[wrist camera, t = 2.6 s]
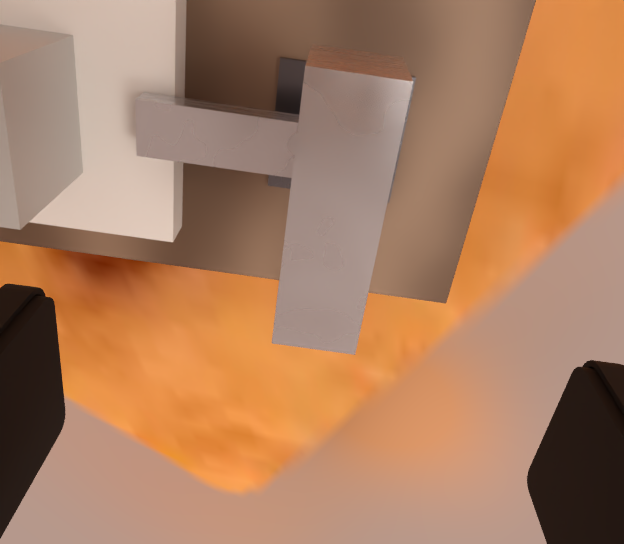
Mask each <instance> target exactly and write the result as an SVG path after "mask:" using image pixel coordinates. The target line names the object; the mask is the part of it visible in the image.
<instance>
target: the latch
mask: <svg viewBox="0 0 624 544" xmlns="http://www.w3.org/2000/svg"><path fill="white" fill-rule="evenodd" d="M412 85H413V80H412V77H411V75H410V73H409V71H408V68H407V66H406V64H405V61H404V59H403V57H398V56H391V55H384V54H378V53H371V52H364V51H357V50H351V49H344V48H337V47H330V46H324V45H317V44H312V46H311V49H310V52H309V55H308V58H307V62H306V65H305V72H304V80H303V88H302V97H301V105H300V113H299V114H292V113H285V112H278V111H271V110H264V109H257V108H250V107H244V106H237V105H230V104H223V103H216V102H209V101H202V100H195V99H189V98H182V97H175V96H168V95H161V94H154V93H147V92H144V93H142V94H141V95H140V96H139V97H137V98H136V99H135V109H136V154H137V156H141V157H148V158H155V159H162V160H169V161H176V162H183V163H190V164H197V165H204V166H211V167H218V168H225V169H232V170H239V171H246V172H253V173H260V174H267V175H274V176H281V177H288V178H292V180H291V188H290V196H289V205H288V213H287V221H286V230H285V238H284V246H283V255H282V263H281V271H280V279H279V288H278V296H277V304H276V313H275V321H274V329H273V338H272V343H274V344H281V345H288V346H295V347H303V348H310V349H317V350H325V351H332V352H339V353H347V354H354V355H355V352H356V348H357V343H358V338H359V334H360V329H361V324H362V319H363V315H364V310H365V305H366V301H367V296H368V291H369V287H370V282H371V277H372V273H373V268H374V263H375V259H376V254H377V249H378V245H379V240H380V235H381V230H382V226H383V221H384V216H385V212H386V207H387V202H388V198H389V193H390V188H391V184H392V179H393V174H394V170H395V165H396V160H397V156H398V151H399V146H400V141H401V137H402V132H403V127H404V123H405V118H406V113H407V109H408V104H409V99H410V95H411V90H412Z"/></svg>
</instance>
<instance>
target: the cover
mask: <svg viewBox="0 0 624 544" xmlns="http://www.w3.org/2000/svg"><path fill="white" fill-rule="evenodd" d="M186 2H187V0H0V227H4V228H11V229H18V230H21V229H22V228H23V227H24V226H25V225H26V224H27V223H28V222H31V223H38V224H45V225H52V226H59V227H67V228H74V229H81V230H88V231H95V232H102V233H109V234H117V235H124V236H131V237H138V238H145V239H152V240H159V241H166V242H174V240H175V238H176V236H177V234H178V233H179V231H180V229H181V227H182V201H183V162H176V161H169V160H162V159H155V158H148V157H141V156H137V154H136V109H135V99H136V98H137V97H139V96H140V95H141V94H142V93H144V92H147V93H154V94H161V95H168V96H175V97H182V98H185V51H186Z"/></svg>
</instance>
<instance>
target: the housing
mask: <svg viewBox="0 0 624 544" xmlns="http://www.w3.org/2000/svg"><path fill="white" fill-rule="evenodd" d="M535 2H536V0H187V2H186V51H185V98H189V99H195V100H202V101H209V102H216V103H223V104H230V105H237V106H244V107H250V108H257V109H264V110H271V111H278V112H285V113H292V114H299V113H300V105H301V97H302V88H303V80H304V72H305V65H306V62H307V58H308V55H309V52H310V49H311V46H312V44H317V45H324V46H330V47H337V48H344V49H351V50H357V51H364V52H371V53H378V54H384V55H391V56H398V57H403V59H404V61H405V64H406V66H407V68H408V71H409V73H410V75H411V77H412V80H413V85H412V90H411V95H410V99H409V104H408V109H407V113H406V118H405V123H404V127H403V132H402V137H401V141H400V146H399V151H398V156H397V160H396V165H395V170H394V174H393V179H392V184H391V188H390V193H389V198H388V202H387V207H386V212H385V216H384V221H383V226H382V230H381V235H380V240H379V245H378V249H377V254H376V259H375V263H374V268H373V273H372V277H371V282H370V287H369V291H368V293H376V294H383V295H390V296H397V297H404V298H412V299H419V300H426V301H433V302H440V303H446V302H447V298H448V295H449V292H450V288H451V285H452V281H453V278H454V275H455V271H456V268H457V265H458V261H459V258H460V254H461V251H462V248H463V244H464V241H465V238H466V234H467V231H468V228H469V224H470V221H471V217H472V214H473V211H474V207H475V204H476V201H477V197H478V194H479V190H480V187H481V184H482V180H483V177H484V174H485V170H486V167H487V164H488V160H489V157H490V153H491V150H492V147H493V143H494V140H495V137H496V133H497V130H498V126H499V123H500V120H501V116H502V113H503V110H504V106H505V103H506V100H507V96H508V93H509V89H510V86H511V83H512V79H513V76H514V73H515V69H516V66H517V62H518V59H519V56H520V52H521V49H522V46H523V42H524V39H525V35H526V32H527V29H528V25H529V22H530V19H531V15H532V12H533V9H534V5H535ZM291 180H292V178H288V177H281V176H274V175H267V174H260V173H253V172H246V171H239V170H232V169H225V168H218V167H211V166H204V165H197V164H190V163H183V201H182V227H181V229H180V231H179V233H178V234H177V236H176V238H175V240H174V242H166V241H159V240H152V239H145V238H138V237H131V236H124V235H117V234H109V233H102V232H95V231H88V230H81V229H74V228H67V227H59V226H52V225H45V224H38V223H31V222H28V223H27V224H26V225H25V226H24V227H23V228H22V229H21V230H18V229H11V228H4V227H0V241H3V242H10V243H17V244H24V245H32V246H39V247H46V248H53V249H60V250H67V251H75V252H82V253H89V254H96V255H103V256H110V257H118V258H125V259H132V260H139V261H146V262H153V263H161V264H168V265H175V266H182V267H189V268H196V269H204V270H211V271H218V272H225V273H232V274H239V275H247V276H254V277H261V278H268V279H275V280H279V279H280V271H281V263H282V255H283V246H284V238H285V230H286V221H287V213H288V205H289V196H290V188H291Z"/></svg>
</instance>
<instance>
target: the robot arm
mask: <svg viewBox="0 0 624 544" xmlns="http://www.w3.org/2000/svg"><path fill="white" fill-rule="evenodd" d="M64 420H65V403H64V393H63V383H62V373H61V363H60V353H59V344H58V334H57V324H56V314H55V305H54V301H53V299H52V298H50V297H45V293H44V291H43V290H42V289H41V288H38V287H30V286H22V285H15V284H5V285H4V286H2V287H1V288H0V538H1V536H2V535H3V533H4V531H5V529H6V528H7V526H8V524H9V522H10V520H11V519H12V517H13V515H14V513H15V512H16V510H17V508H18V506H19V505H20V503H21V501H22V499H23V497H24V496H25V494H26V492H27V490H28V489H29V487H30V485H31V484H32V482H33V480H34V478H35V476H36V475H37V473H38V471H39V469H40V468H41V466H42V464H43V462H44V461H45V459H46V457H47V455H48V454H49V452H50V450H51V448H52V446H53V445H54V443H55V441H56V439H57V437H58V436H59V434H60V432H61V430H62V427H63V424H64ZM527 484H528V490H529V493H530V496H531V499H532V502H533V505H534V508H535V510H536V513H537V516H538V519H539V522H540V525H541V527H542V530H543V533H544V536H545V539H546V542H547V544H624V365H621V364H615V363H608V362H601V361H593V360H590V361H587V362H586V363H585V364H584V365H583V367H577V368H576V369H574V371H573V372H572V374H571V376H570V379H569V381H568V383H567V385H566V388H565V390H564V392H563V394H562V397H561V399H560V401H559V403H558V406H557V408H556V410H555V412H554V414H553V417H552V419H551V421H550V423H549V426H548V428H547V430H546V433H545V435H544V437H543V439H542V441H541V444H540V446H539V448H538V450H537V453H536V455H535V457H534V459H533V462H532V464H531V466H530V468H529V471H528V476H527Z"/></svg>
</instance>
